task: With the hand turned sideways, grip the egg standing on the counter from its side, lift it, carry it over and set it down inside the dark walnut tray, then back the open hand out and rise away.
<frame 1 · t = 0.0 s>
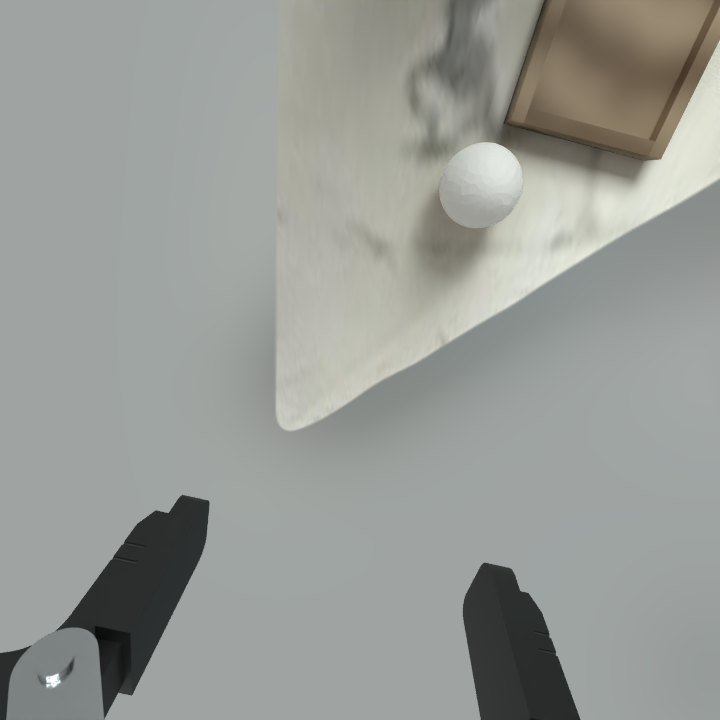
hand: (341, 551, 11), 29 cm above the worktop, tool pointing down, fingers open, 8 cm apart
egg: (470, 186, 34), on the worktop
walnut tray: (611, 52, 29), on the worktop
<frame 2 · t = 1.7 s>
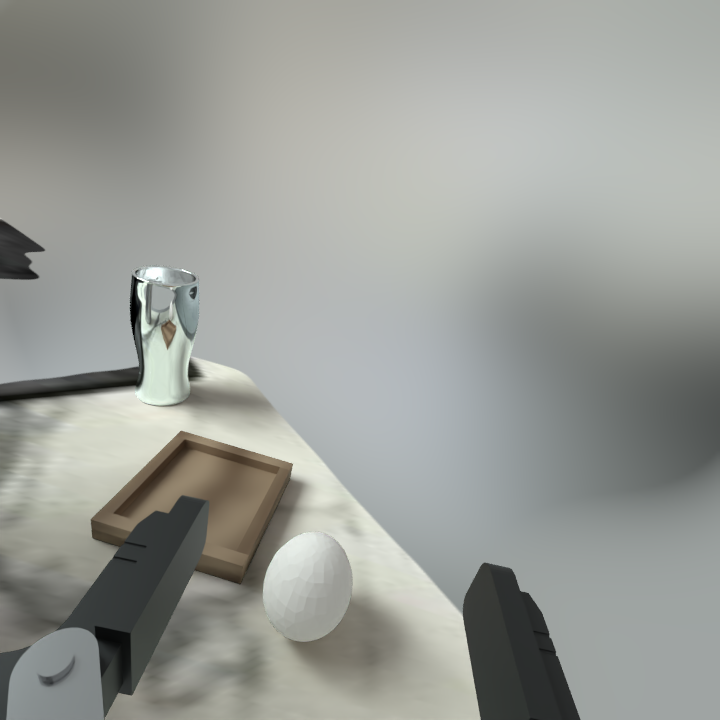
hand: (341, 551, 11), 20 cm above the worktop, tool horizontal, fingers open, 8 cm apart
egg: (299, 618, 29), on the worktop
beer glass: (163, 393, 49), on the worktop
walnut tray: (205, 504, 36), on the worktop
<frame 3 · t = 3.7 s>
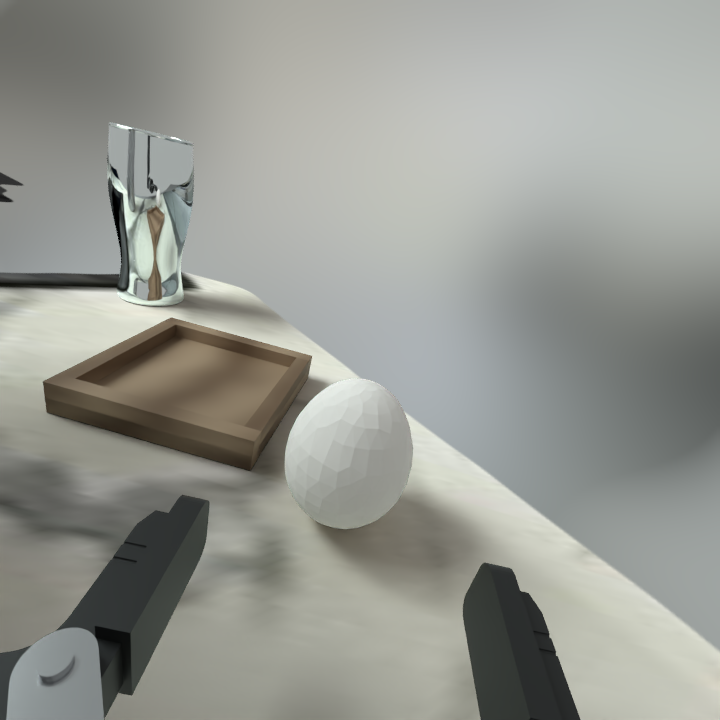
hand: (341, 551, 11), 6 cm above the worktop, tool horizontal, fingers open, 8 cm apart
egg: (333, 512, 21), on the worktop
beer glass: (151, 297, 41), on the worktop
walnut tray: (202, 391, 27), on the worktop
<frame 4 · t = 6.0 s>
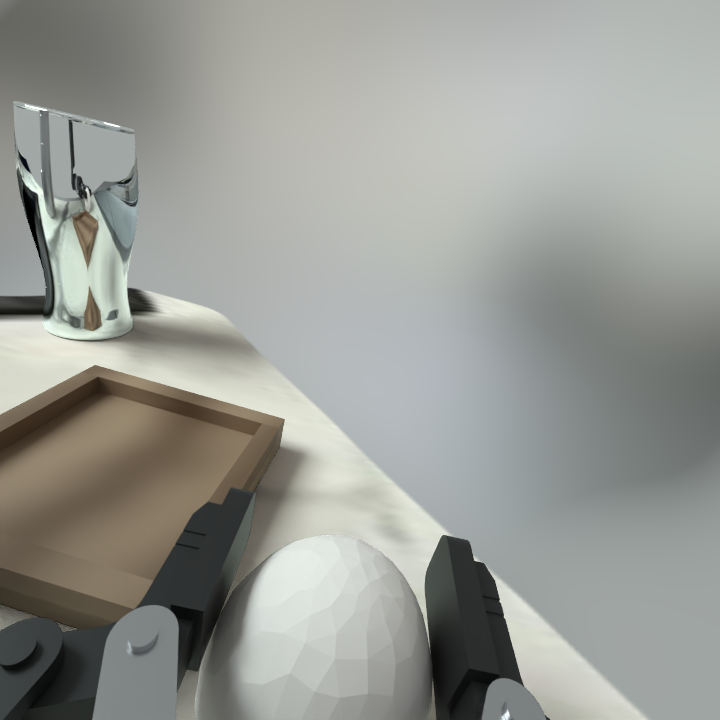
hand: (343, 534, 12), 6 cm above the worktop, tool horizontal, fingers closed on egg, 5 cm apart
beer glass: (90, 327, 32), on the worktop
walnut tray: (119, 484, 19), on the worktop
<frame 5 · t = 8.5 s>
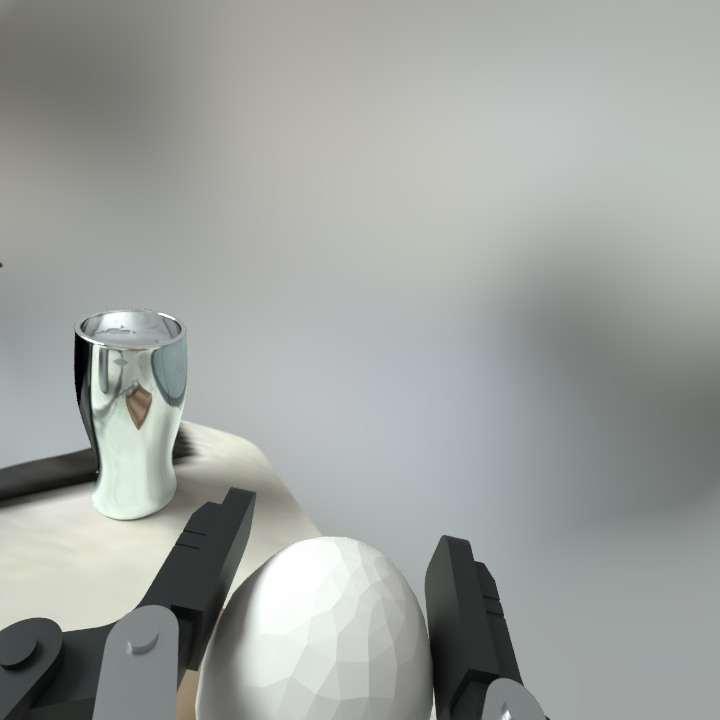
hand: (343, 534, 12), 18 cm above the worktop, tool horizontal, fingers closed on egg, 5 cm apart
beer glass: (136, 493, 33), on the worktop
when the fingers open (8 cm above the worktop, at t = 11.2 s): egg drops 1 cm, resting on walnut tray.
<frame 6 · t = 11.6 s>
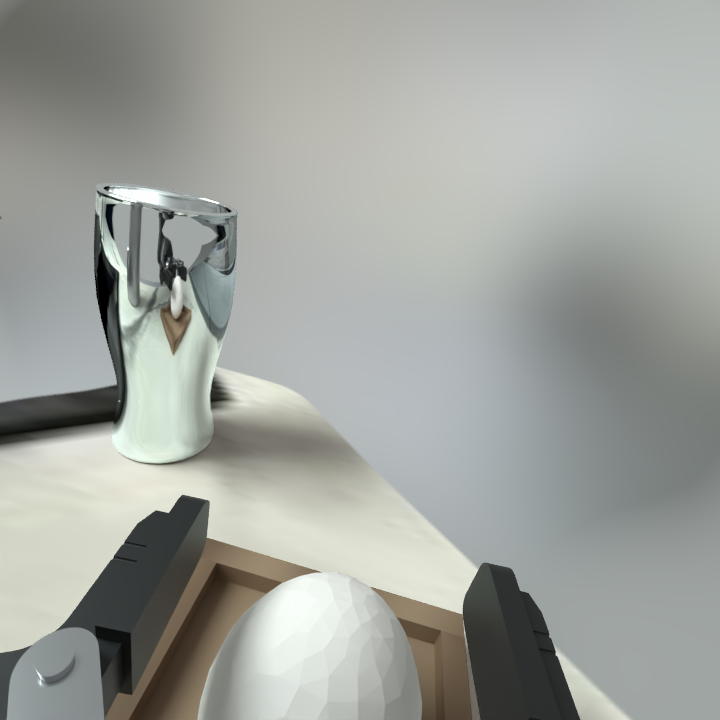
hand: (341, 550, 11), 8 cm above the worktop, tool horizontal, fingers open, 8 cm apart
beer glass: (165, 436, 27), on the worktop
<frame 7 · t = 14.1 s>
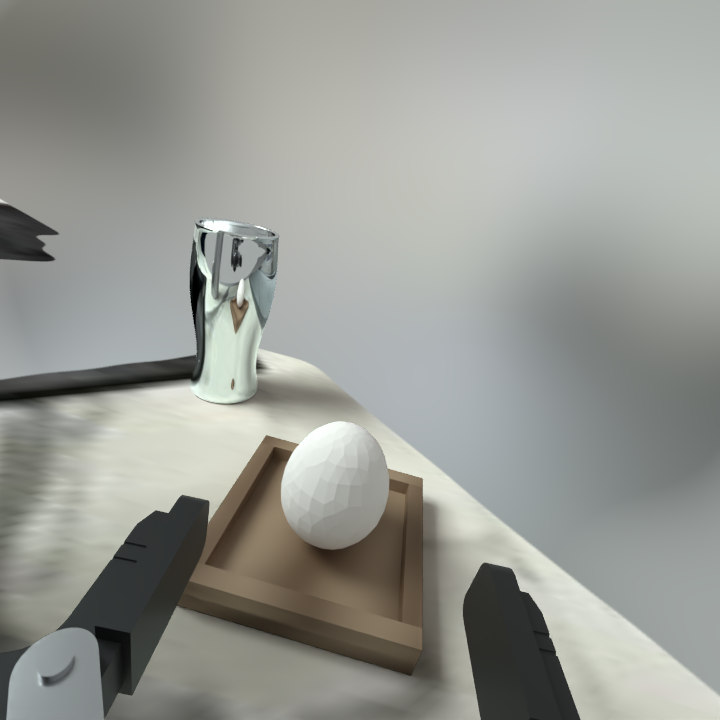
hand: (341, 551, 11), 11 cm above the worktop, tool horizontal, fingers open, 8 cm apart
egg: (323, 533, 24), point 1 cm above the worktop, touching walnut tray
beer glass: (224, 389, 38), on the worktop
walnut tray: (319, 540, 25), on the worktop
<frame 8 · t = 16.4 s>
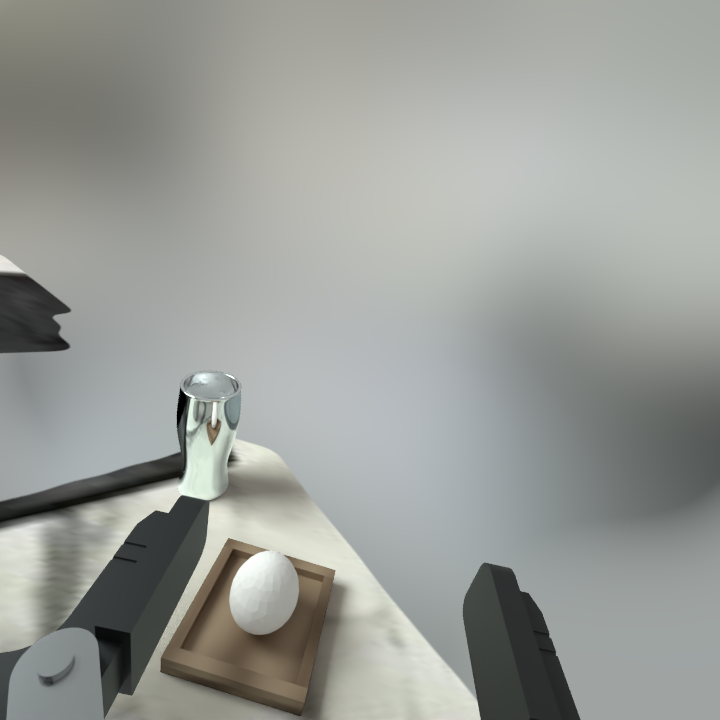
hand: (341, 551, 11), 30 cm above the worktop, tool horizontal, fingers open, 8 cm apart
egg: (259, 617, 37), point 1 cm above the worktop, touching walnut tray
beer glass: (203, 485, 51), on the worktop
walnut tray: (257, 620, 38), on the worktop
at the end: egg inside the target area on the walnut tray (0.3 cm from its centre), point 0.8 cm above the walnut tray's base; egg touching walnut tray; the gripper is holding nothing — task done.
